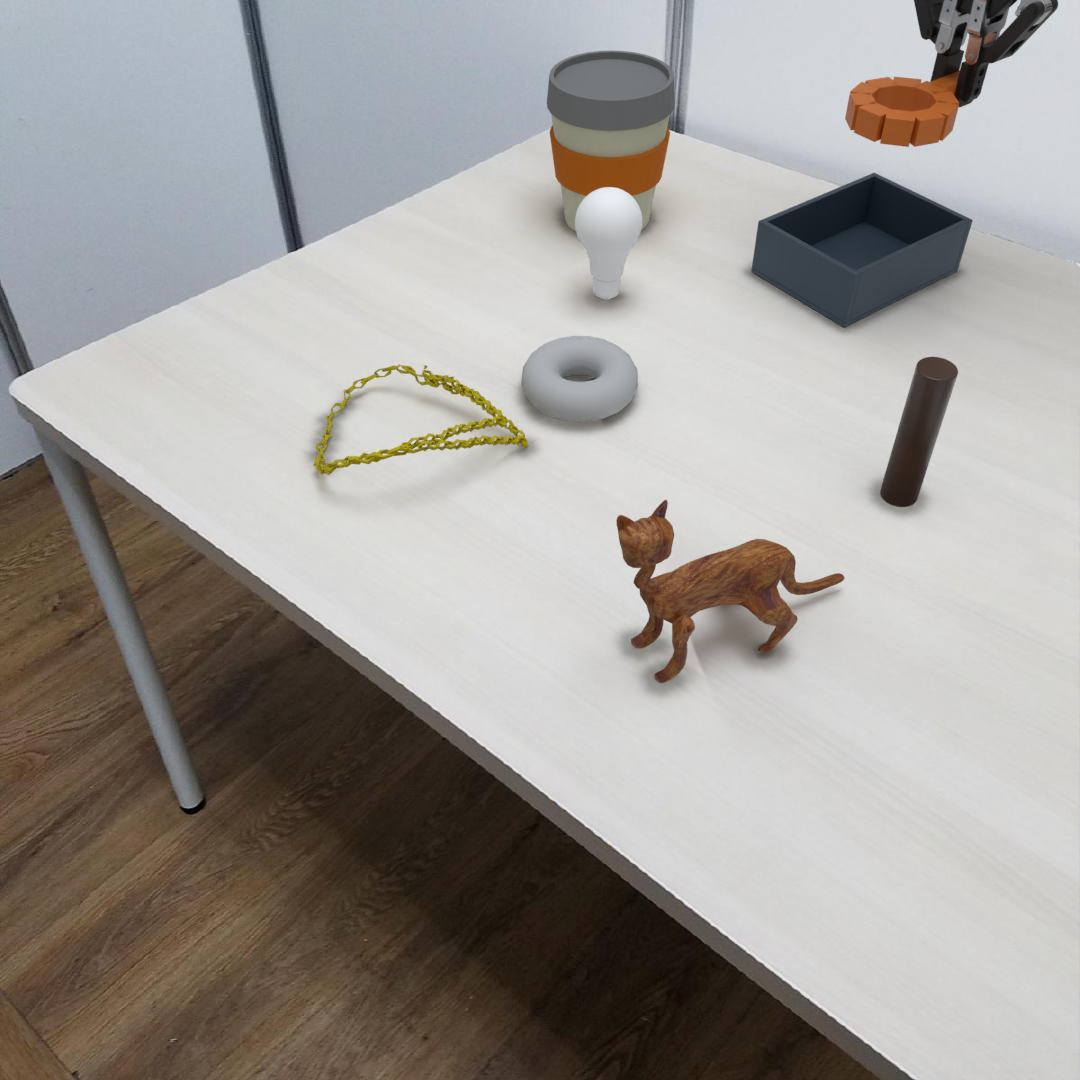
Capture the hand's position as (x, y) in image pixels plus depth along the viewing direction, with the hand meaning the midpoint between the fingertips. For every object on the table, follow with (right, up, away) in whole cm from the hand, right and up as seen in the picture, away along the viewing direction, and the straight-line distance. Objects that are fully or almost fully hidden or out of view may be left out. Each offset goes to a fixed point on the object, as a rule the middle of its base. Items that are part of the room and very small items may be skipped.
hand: (951, 99), depth 93 cm
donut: (-33, -26, -1) cm, 42 cm away
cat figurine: (-23, -45, -20) cm, 54 cm away
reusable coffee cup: (-29, -5, +20) cm, 36 cm away
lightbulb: (-30, -16, +9) cm, 35 cm away
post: (-8, -35, -11) cm, 38 cm away
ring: (-4, -2, -2) cm, 5 cm away
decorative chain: (-46, -30, -5) cm, 55 cm away
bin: (-5, -12, +12) cm, 18 cm away
